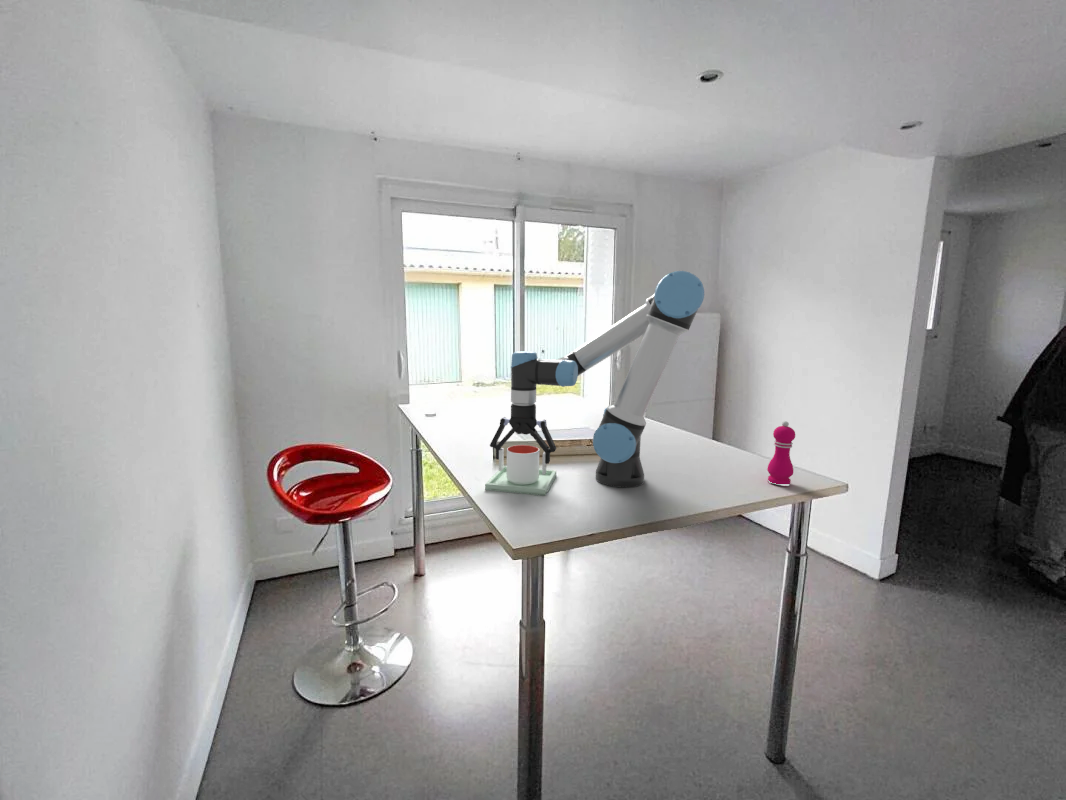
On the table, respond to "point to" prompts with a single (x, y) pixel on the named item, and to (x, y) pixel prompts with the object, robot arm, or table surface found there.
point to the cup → (522, 464)
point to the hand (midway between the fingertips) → (522, 471)
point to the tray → (538, 488)
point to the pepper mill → (781, 455)
